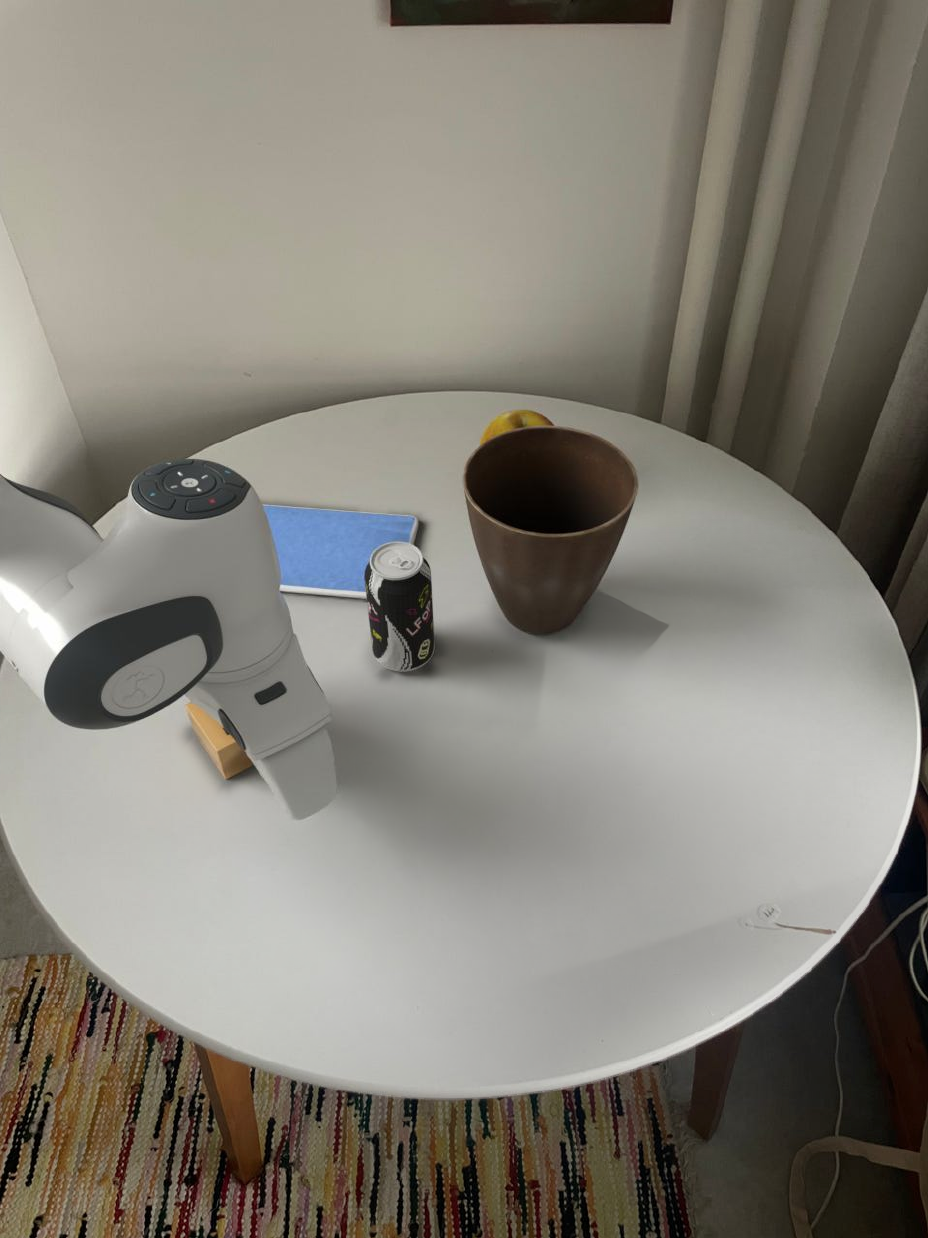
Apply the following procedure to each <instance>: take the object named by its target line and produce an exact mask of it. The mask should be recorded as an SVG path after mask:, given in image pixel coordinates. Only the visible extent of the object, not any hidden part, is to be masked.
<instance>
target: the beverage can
mask: <svg viewBox="0 0 928 1238" xmlns="http://www.w3.org/2000/svg"><path fill="white" fill-rule="evenodd" d="M364 580H365V588H366V597H367V599H366V604H367V605H366V606H367V615H368V623H369V630H370V640H371V650H372V653H373V657H374V658H375V660H376V661H377V662H378V664H379V665H381V666H382V667H384V668H385V669H387V670H390V671H394V672H410V671H414V670H418V669H419V668H421V667H423V666H425V665H426V664H427V663H429V661H430V660H431V659H432V657H433V655H434V653H435V649H436V647H435V646H436V645H435V643H436V641H435V624H434V623H435V622H434V603H433V602H434V601H433V586H432V581H433V580H432V569H431V565H430V564H429V561H427V559H426V558H425V557H424V555H423V552H422V551H421V549H420V548H419V547H417V546H416V545H415V544H414V545H412V544H410V543H406V542H390V543H386V544H383V545H381V546H380V547H378V548H377V549H376V550H375V551H374V552H373V553H372V555H371V557H370V561H369V563H368V564H367V566H366V569H365V574H364Z"/></svg>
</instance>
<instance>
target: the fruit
mask: <svg viewBox="0 0 928 1238" xmlns="http://www.w3.org/2000/svg"><path fill="white" fill-rule="evenodd" d="M530 426H555V424H554V423H553V421H551V420H550V419H549V418H548V417H547V416H545V415H543V414H542V413H539V412H537V411H535V410H530V409H515V410H514V409H513V410H509V411H506V412H503V413H501V414H499V415H498V416H496V417H495V418H493V419H492V421H491V422H490V423H489V424H488V425H487V426H486V428H485V429H484V430H483V433H482V435H481V438H480V440H479V441H480V442H479V446H480V445H481V444H483V443H484V442H486V441H487V440H489V439H491V438H493V437H495V436H497V435H499V434H502V433H504V432H507V431H510V430H514V429H518V428H524V427H530Z"/></svg>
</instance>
